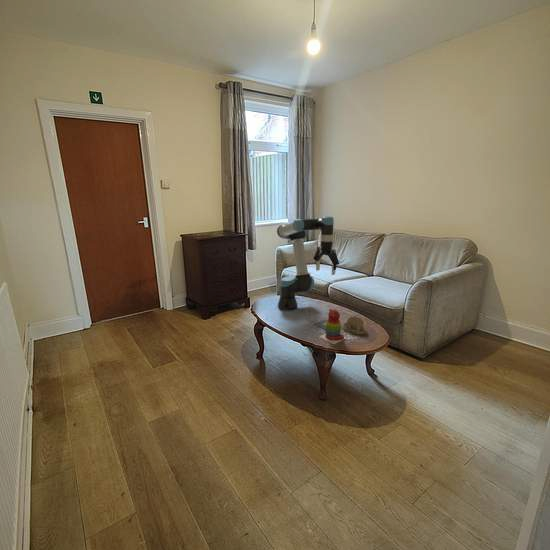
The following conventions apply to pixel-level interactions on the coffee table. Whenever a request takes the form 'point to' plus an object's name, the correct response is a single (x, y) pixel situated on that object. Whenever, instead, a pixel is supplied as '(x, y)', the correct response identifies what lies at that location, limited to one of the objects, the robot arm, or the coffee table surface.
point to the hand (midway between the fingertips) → (325, 272)
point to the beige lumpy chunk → (354, 325)
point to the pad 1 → (321, 324)
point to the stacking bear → (333, 326)
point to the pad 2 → (331, 340)
